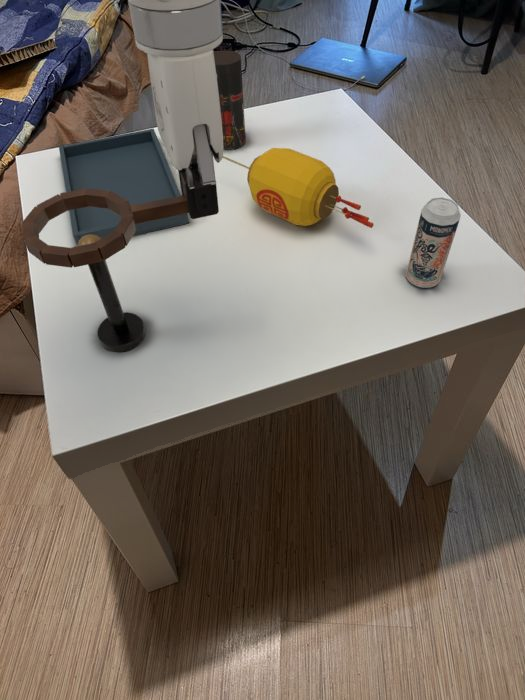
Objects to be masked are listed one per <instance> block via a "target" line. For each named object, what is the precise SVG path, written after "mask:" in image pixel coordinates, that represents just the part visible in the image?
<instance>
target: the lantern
mask: <svg viewBox="0 0 525 700" xmlns="http://www.w3.org/2000/svg"><path fill="white" fill-rule="evenodd" d="M222 159H224V160H226V161H228V162H231V163H234V164H236V165H238V166H241V167H243V168H245V169H248V171H247V179H246V180H247V185H248V186H249V192H250V195H251V198H252V201H253V202H255V203H256V204H257V205H258V206H259V207H260V208H261V209H262V210H264V212H267V213H269V214H271V215H273V216H274V217H278V218H280V219H282V220H284V221H286V222H288V223H291V224H293V225H295V226H303V227H307V226H312V225H314V224H316V223H318V222H320V221H321V220H324V219H327V218H328V217H329V216H330V215H331V214H332V213H333V211H336V212H338V213H340V214H343V215H344V217H345V218H346V219H347V220H348V219H352V220H354V221H355V222H358V223H359V224H362V225H364V226H365V227H367V228H369V229H372V228H373V227H374V225H375V224H374V222H371V221H369V220H370V217H368V216H365V215H363V214H360V213H357V212H354V211H353V210H352V211H351V210H349V209H348V207H347V206H349V207H350V208H352V209H355V210H357V211H360V210H361V208H362V205H361V204H358V203H355V202H353V201H349V200H347V199H343V198H342V196H341V195H339V187H338V185H337V183H336V177H335V174H334V171H333V170H332V169H331V167H329V166H328V165H327V164H326V163H325V162H323V161H322V160H321V159H318V158H315V157H312V156H310V155H308V154H305V153H302V152H299V151H297V150H295V149H292V148H286V147H284V148H283V147H271V148H270V149H268V150H267V151H265V152H264V153H262V154H260V155H258V156H256V158H254V159H253V161H252V163H251V164H250V166H247V165H246V164H243V163H242V162H241V163H240V162H238V161H236V160H234V159H231V158H229V157H227V156H224V155H223V158H222ZM339 203H343V204H345V205H347V206H345V207H343V208H341V207H339V206H337V204H339ZM338 209H339V210H338ZM340 210H341V211H340Z"/></svg>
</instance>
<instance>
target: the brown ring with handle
mask: <svg viewBox="0 0 525 700" xmlns="http://www.w3.org/2000/svg"><path fill="white" fill-rule="evenodd" d="M195 170H198V169H195ZM195 170H192V171H193V172H194V171H195ZM180 174H181V180H182V187H183V193H184V195H182V194H181V196H177V197H172V198H167V199H162V200H157V201H152V202H147V203H142V204H137V205H132V206H130V202H129V201H128V200H126V199H124V198H123V197H121V196H119V195H118V194H116V193H114V192H111V191H106V190H97V189H87V190H86V189H81V190H75V191H70V192H66V191H65V192H61V193H60V194H59V193H57V194H55V195H54V196H52V197H49V198H48V199H46V200H44V201H42V202H40V203H38V204H36V205H35V206H34V207H33V208H32V209H31V211H30V212H29V213H28V215H26V217H25V218H24V219H23V220H22V222H21V229H22V240H23V242H24V245H25V247H26V249H27V251H28V253H29V254H30V255H32V256H33V257H35V258H36V259H37V260H39V261H40V262H41V263H43V264H45V265H48V266H56V267H61V268H62V267H63V268H70V269H72V268H78V267H83V266H88V264H93V263H97V262H101V261H102V260H106V261H107V260H108V259H109V258H111V257H113V256H114V255H116V254H117V253H119V252H120V251H122V250H124V249H125V248H126V247H127V246H128V245H129V243H130V241H131V240H132V239H133V237H134V236H133V234H134V233H135V231H136V224H139V223H143V222H148V221H153V220H158V219H163V218H167V217H172V216H177V215H182V214H189V210H188V203H187V196H186V190H185V185H186V184H188V183H187V177H186V171H185V172H181V173H180ZM84 207H98V208H107V209H110V210H111V211H113V212H115V213H116V214H118V215H119V216H121V217H122V219H121V220H120V222H119V223H118V225H117V227H116V228H115V230H114V231H113V232H111V233H110V234H108V235H106V236H105V237H103V238H101V239H100V240H98V241H96V242H95V243H91V244H86V245H81V246H77V245H76V246H71V247H67V246H58V245H50V244H47V243H46V242H45V241H43V240H42V239H41V238H40V233H41V232H42V231H43V229H44V228H45V227H46V226H47V224H48V223H49V221H51V220H53V219H55V218H57V217H58V216H60V215H62V214H64V213H66V212H69V210H74V209H79V208H84Z"/></svg>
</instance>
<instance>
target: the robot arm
mask: <svg viewBox="0 0 525 700" xmlns="http://www.w3.org/2000/svg"><path fill="white" fill-rule="evenodd" d="M127 3H128V4H127V5H128V8H129V14H130V20H131V26H132V31H133V36H134V42H135V45H136V48H137V49H139V50H140V51H141V52H143V53H145V54H146V55H147V63H148V71H149V79H150V86H151V93H152V100H153V105H154V106H153V107H154V114H155V121H156V127H157V130H158V131H157V132H158V134H159V136H160V139H161V142H162V143H163V147H164V149H165V151H166V154H167V156H168V159H169V160H170V161H169V162H170V163H171V165H172V166H173V167H174V168H175V169H176V170H177V171H178V177H179V178H178V179H179V184H180V190H181V192H180V193H181V196H182V195H184V193H183V187H182V180H181V174H180V173H181V172H185V171H186V177H187V183H188V184H186V185H185V190H186V196H187V203H188V210H189V213H188V216H189V218H190V219H191V220H196V219H201V218H206V217H210V216H211V217H212V216H215V215H217V214H218V213H219V212H220V207H219V199H218V188H217V181H216V174H215V173H216V172H215V163H214V160H215V162H216V163H218V164H219V163H220V162H221V161H223V159H224V158H223V156H224V149H223V133H222V121H221V112H220V101H219V92H218V84H217V74H216V68H215V60H214V53H213V52H214V49H216V48H217V47H219V46H220V45H221V44H222V43H223V40H224V33H223V18H222V3H221V0H127ZM195 169H198V170H195ZM192 170H195V171H194V172H193V171H192Z"/></svg>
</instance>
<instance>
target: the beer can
mask: <svg viewBox="0 0 525 700" xmlns="http://www.w3.org/2000/svg"><path fill="white" fill-rule="evenodd" d="M420 210H421V211H420V215H419V219H418V223H417V227H416V232H415V236H414V239H413V243H412V248H411V252H410V255H409V260H408V264H407V268H406V271H405V276H406V277H405V278H407V281H408V282H410V283H411V284H412V285H414V286H416V287H418V288H423V289H425V288H433V287H435V286H437V285H438V284H439V283H440V282H441V280H442V277H443V274H444V270H445V267H446V264H447V261H448V258H449V254H450V252H451V248H452V246H453V243H454V239H455V237H456V232H457V229H458V227H459V223H460V220H461V218H462V217H461V216H462V215H461V211H460V208H459V204H457V203H456V202H455V201H454V200H452V199H450V198H445V197H442V196H441V197H433V198H431V199H430V200H428V201H427V202H426V203H425V205H423V206H422V208H421V209H420Z"/></svg>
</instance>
